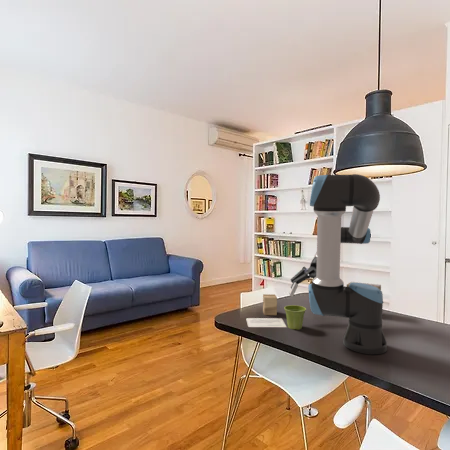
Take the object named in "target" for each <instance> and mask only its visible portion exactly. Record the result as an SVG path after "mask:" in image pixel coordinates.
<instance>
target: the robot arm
mask: <svg viewBox="0 0 450 450" xmlns="http://www.w3.org/2000/svg"><path fill="white" fill-rule="evenodd" d="M312 181H313V182H312V184H311V185H312V186H311V191H310V192H311V193H310V200H309V206H310V207H313V212H314V213H315V214H316V215H317V218H316V219H317V228H316V231H317V232H316V253H315V254H314V257H313V258H312V260H311V262H310V263H309V264H310V265H309V267H308V268H307V267H306V266H303V267H302V268H301V269H300V270H299V271H298V272H297V273H296V274H294V275H293V276H292V277H291V279H290V282H291V283H292V284H291V286H290V291H289V295H290V297H291V298H293V297H294V295H295V294H296V291H297V289H298V287H299V286H298V285H299V284H301V283H303V282H305V281H306V280H309V279H312V280H311V281H312V283H310V284H308V300H309V308H310V311H311V313H312V314H313V315H316V316H317V315H319V316H323V317H336V318H337V317H338V318H347V319H348V325H347V327H346V329H345V333H344V335H343V339H342V340H343V342H342V343H343V346H344V347H345V348H347V349H349V350H351V351H354V352H355V353H361V354H365V355H381V354H385V353H386V352H387V350H388V348H387V347H388V342H387V341H386V337H385V334H384V330H383V309H384V308H383V307H384V306H383V305H384V297H383V295H384V294H383V291H382V289H381V290H380V289H378V288H377V287H374V286H371V285H367V284H362V283H363V282H358V283H350V282H349V283H350V285H349V287H347V286H345V284H344V281H343V280H342V279H341V276H340V274H341V269H340V268H341V244H358V245H364V244H369V243H370V242H371V237H372V235H371V229H370V228H369V227H370V222H371V219H372V217H373V214H374V211H375V210H376V209H377V208H378V206H379V204H380V200H381V195H380V191H379V188H378V187H377V185H376V184H375V182H373V181H372V180H371V179H370V178H368V177H367V176H365V175H362V174H358V173H357V174H356V173H353V174H322V175H321V174H320V175H316V176H315V177H314V178H313V180H312ZM347 207H353V208H352V213H351V217H350V222H349V223H350V224H349V226H342V215H344V214H345V213H346V212H347Z"/></svg>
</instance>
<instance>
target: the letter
mask: <svg viewBox="0 0 450 450" xmlns="http://www.w3.org/2000/svg"><path fill="white" fill-rule="evenodd" d="M246 323H247V327H248V328H287V325H286V323H285V321H284V320H283V318H282V317H279V318H277V317H274V318H273V317H272V318H271V317H270V318H269V317H267V318H266V317H265V318H264V317H263V318H262V317H261V318H259V317H256V318H255V317H248V318H246Z"/></svg>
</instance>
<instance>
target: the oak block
mask: <svg viewBox="0 0 450 450" xmlns="http://www.w3.org/2000/svg"><path fill="white" fill-rule="evenodd" d="M277 307H278V297H277V295H276V294H268V293H267V294H266V293H265V294H262V313H263V315H264V316H277V313H278V308H277Z"/></svg>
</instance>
